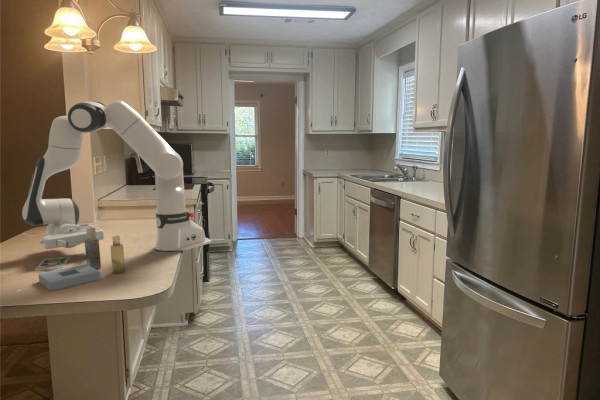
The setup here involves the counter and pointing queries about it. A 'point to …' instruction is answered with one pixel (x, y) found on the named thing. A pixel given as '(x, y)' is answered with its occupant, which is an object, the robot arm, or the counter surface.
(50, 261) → the handheld gaming device
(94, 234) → the square bit
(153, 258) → the counter surface
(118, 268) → the gold bottle
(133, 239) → the counter surface
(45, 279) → the socket plate
